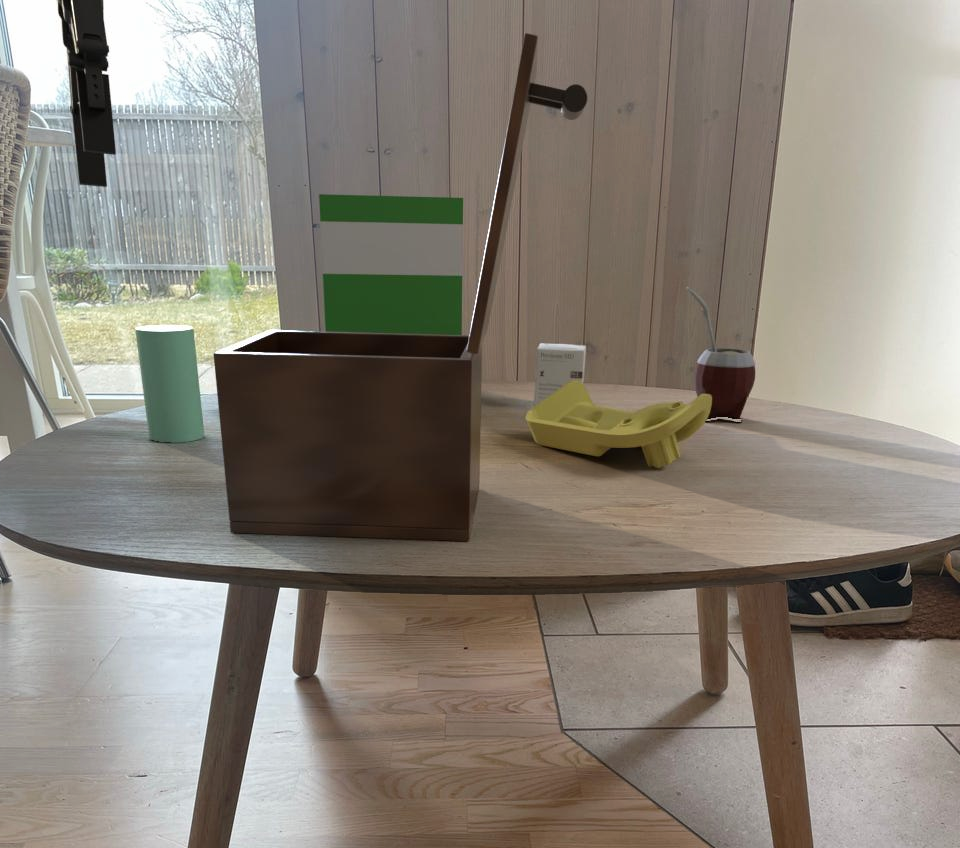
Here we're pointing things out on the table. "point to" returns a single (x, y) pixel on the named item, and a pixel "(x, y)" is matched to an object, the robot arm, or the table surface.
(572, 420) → the plastic component
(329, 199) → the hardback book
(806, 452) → the table surface
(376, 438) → the chest
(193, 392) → the green cylinder
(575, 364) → the product carton
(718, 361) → the mate gourd
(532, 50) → the lid
